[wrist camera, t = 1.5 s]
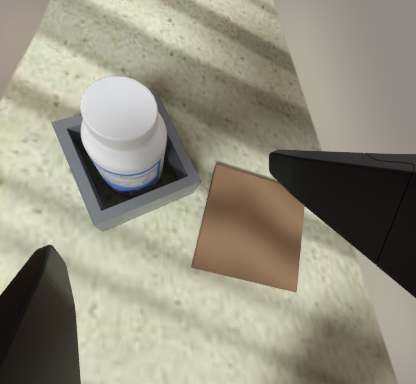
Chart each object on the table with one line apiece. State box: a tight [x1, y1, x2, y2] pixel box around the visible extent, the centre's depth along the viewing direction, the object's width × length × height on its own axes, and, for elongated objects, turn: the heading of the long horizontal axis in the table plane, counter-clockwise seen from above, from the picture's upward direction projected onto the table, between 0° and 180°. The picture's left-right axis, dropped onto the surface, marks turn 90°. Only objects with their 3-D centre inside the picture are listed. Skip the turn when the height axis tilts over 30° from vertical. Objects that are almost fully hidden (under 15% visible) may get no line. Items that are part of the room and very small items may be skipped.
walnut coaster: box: [192, 164, 304, 292], centre depth 23 cm, size 10×10×1 cm
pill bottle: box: [80, 76, 167, 196], centre depth 17 cm, size 6×5×10 cm
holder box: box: [51, 95, 201, 231], centre depth 20 cm, size 9×9×4 cm
